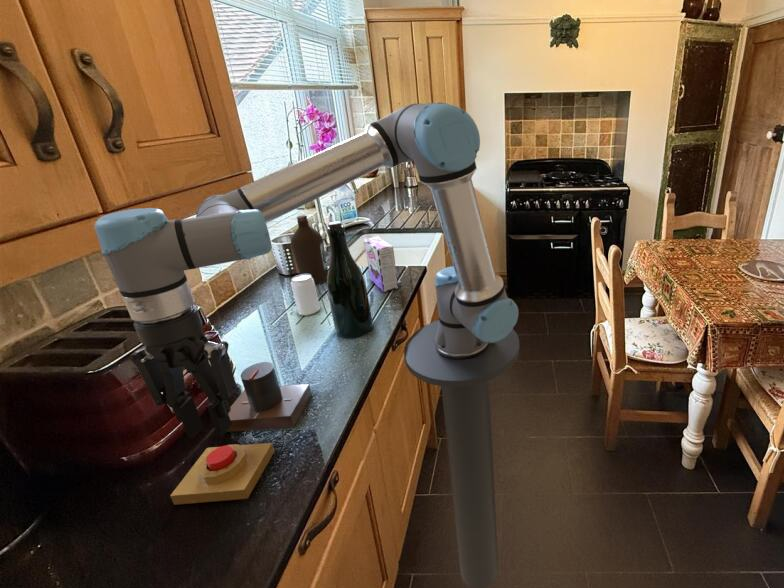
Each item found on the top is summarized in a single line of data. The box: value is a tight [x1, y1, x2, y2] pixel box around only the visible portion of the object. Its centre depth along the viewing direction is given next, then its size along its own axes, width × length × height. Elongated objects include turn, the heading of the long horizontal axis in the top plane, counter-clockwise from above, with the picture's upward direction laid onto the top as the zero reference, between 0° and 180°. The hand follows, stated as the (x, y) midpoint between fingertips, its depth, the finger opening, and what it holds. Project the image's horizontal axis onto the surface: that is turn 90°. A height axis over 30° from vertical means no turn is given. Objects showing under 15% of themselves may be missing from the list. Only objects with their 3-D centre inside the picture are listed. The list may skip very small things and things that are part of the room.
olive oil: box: [290, 214, 329, 285], centre depth 148 cm, size 11×11×25 cm
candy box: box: [363, 235, 399, 293], centre depth 145 cm, size 14×6×16 cm, turn 37°
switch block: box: [169, 442, 275, 506], centre depth 72 cm, size 12×10×4 cm
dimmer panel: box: [226, 383, 313, 433], centre depth 87 cm, size 14×10×3 cm
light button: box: [206, 444, 236, 471], centre depth 71 cm, size 4×4×2 cm
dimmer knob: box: [240, 361, 282, 411], centre depth 85 cm, size 6×6×8 cm
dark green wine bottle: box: [326, 220, 374, 339], centre depth 113 cm, size 10×10×33 cm
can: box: [290, 273, 321, 317], centre depth 128 cm, size 6×6×12 cm
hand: (210, 431), depth 69 cm, fingers open, 4 cm apart
